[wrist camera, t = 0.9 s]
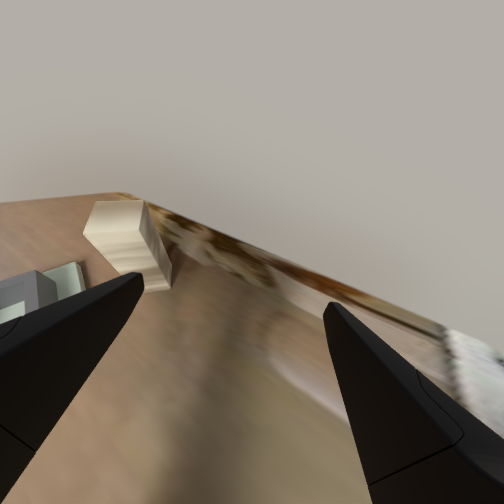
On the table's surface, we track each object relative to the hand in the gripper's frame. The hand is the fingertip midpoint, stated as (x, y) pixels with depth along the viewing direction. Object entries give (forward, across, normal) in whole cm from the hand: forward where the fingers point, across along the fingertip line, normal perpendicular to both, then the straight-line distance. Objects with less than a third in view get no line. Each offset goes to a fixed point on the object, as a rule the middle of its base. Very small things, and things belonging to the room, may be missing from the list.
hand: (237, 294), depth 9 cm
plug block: (+13, +12, +12) cm, 21 cm away
